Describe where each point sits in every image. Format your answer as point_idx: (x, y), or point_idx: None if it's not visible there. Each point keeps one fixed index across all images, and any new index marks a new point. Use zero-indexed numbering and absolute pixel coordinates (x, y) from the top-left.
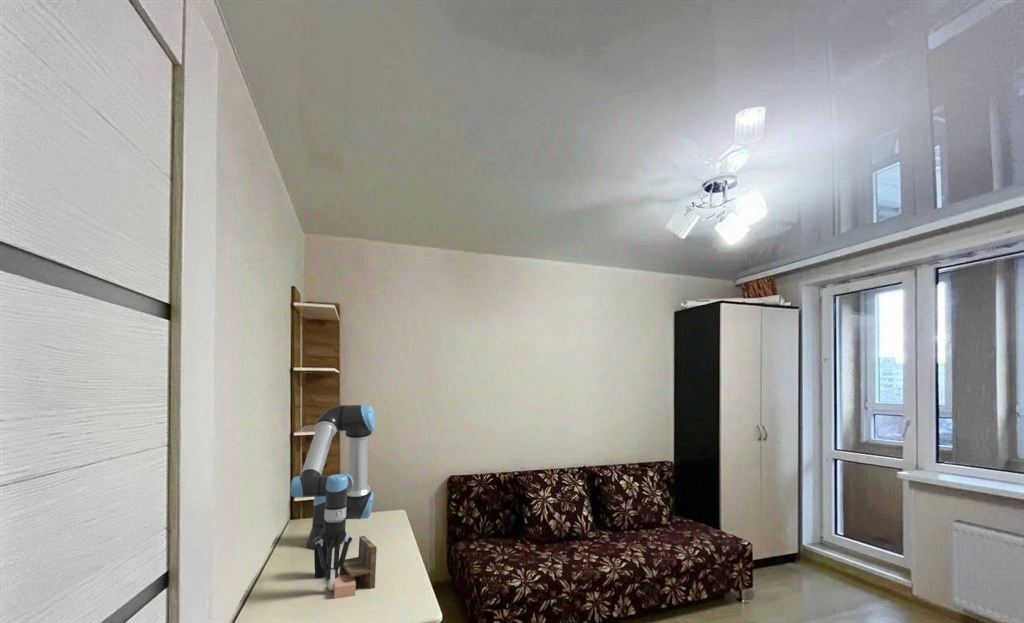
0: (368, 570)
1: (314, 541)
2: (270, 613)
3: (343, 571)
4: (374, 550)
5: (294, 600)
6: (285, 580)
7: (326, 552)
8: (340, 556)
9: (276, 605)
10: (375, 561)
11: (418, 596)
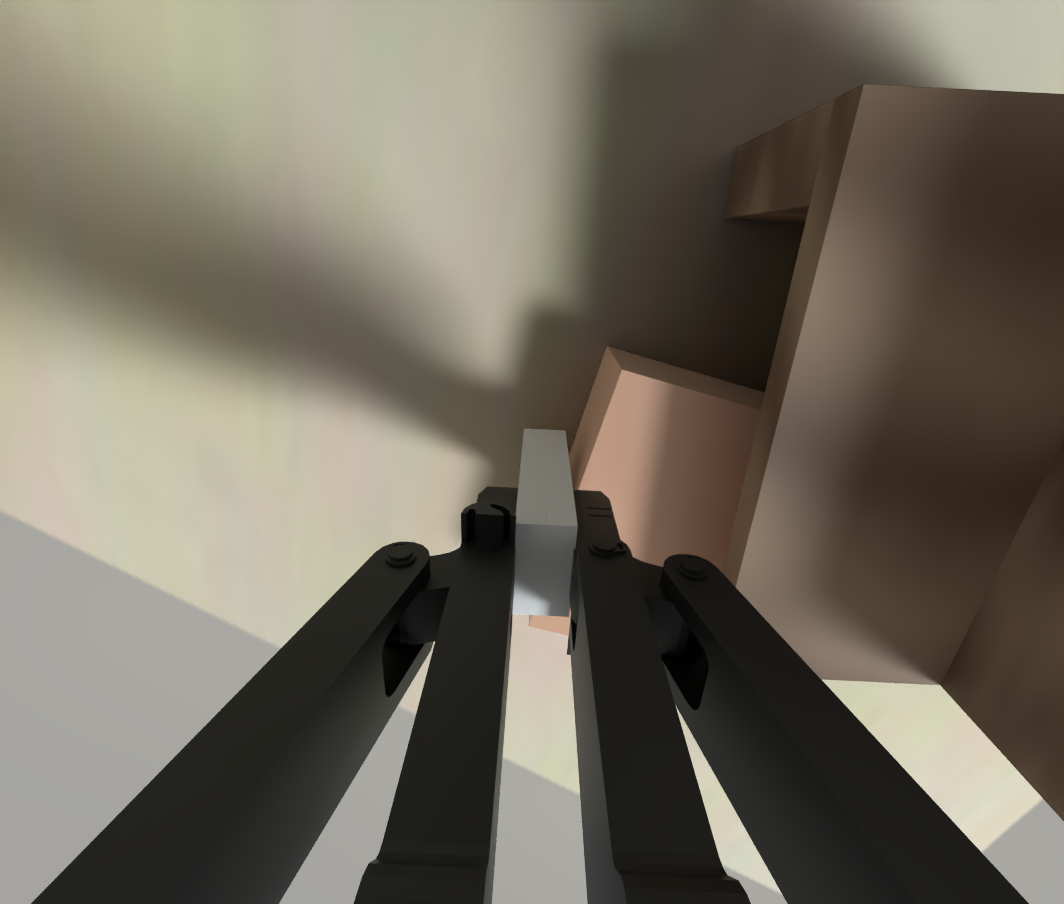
0: (917, 681)
1: None
2: (72, 533)
3: (797, 212)
4: None
5: (236, 423)
6: None
7: None
8: (717, 651)
9: (94, 430)
10: None
11: (979, 801)
